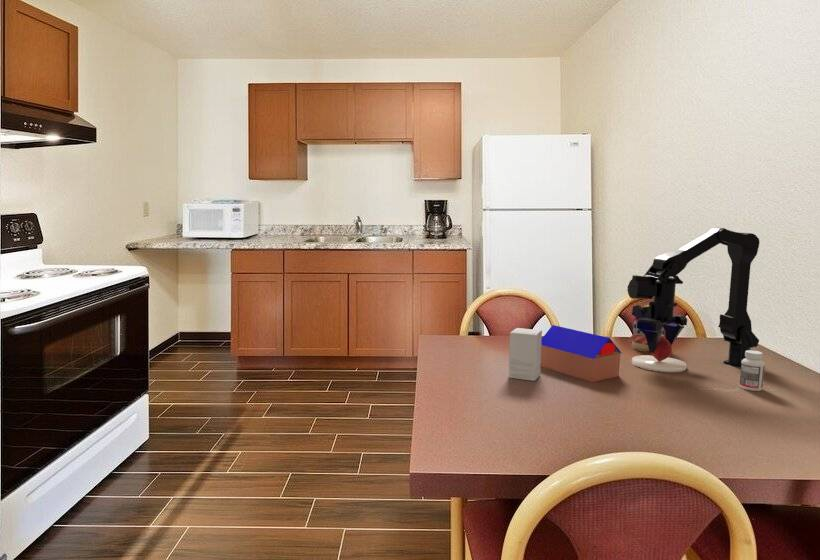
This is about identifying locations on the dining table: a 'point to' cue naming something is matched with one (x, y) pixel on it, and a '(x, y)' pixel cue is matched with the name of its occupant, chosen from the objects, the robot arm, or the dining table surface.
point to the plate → (659, 364)
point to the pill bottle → (752, 371)
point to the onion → (662, 349)
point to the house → (580, 354)
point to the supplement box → (525, 354)
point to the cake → (640, 337)
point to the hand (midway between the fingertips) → (659, 350)
